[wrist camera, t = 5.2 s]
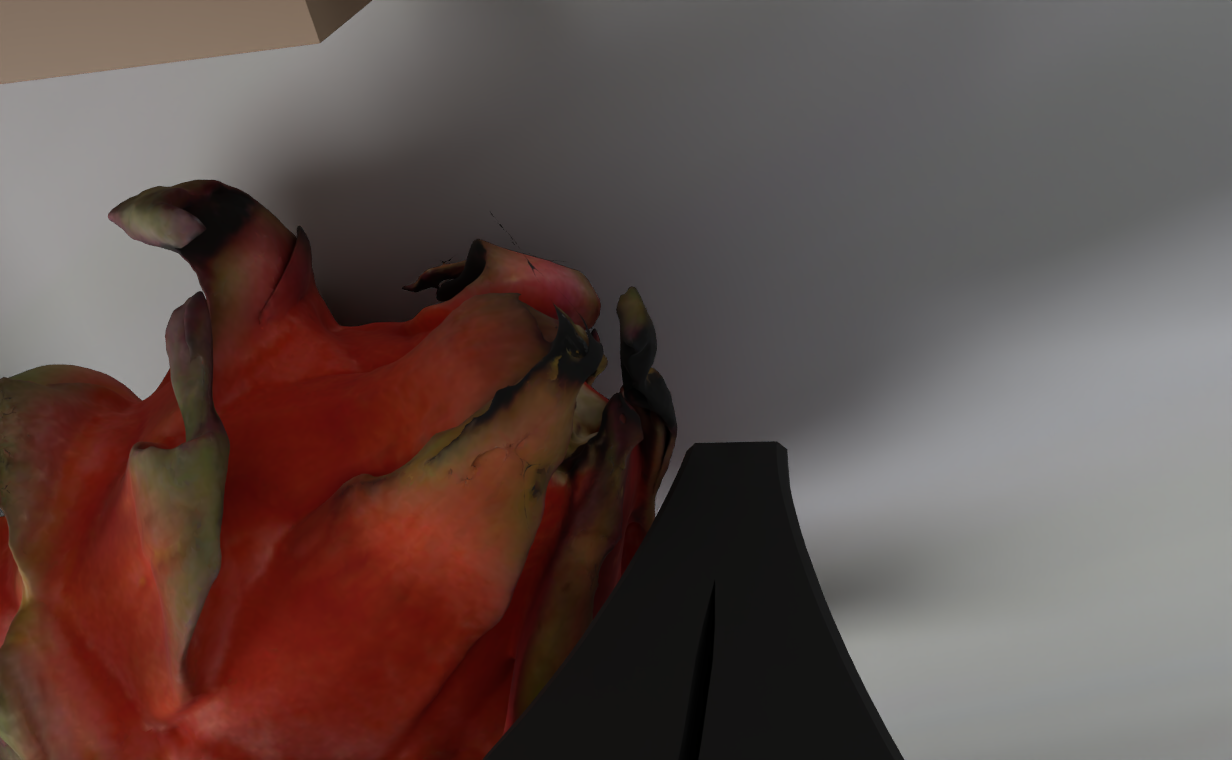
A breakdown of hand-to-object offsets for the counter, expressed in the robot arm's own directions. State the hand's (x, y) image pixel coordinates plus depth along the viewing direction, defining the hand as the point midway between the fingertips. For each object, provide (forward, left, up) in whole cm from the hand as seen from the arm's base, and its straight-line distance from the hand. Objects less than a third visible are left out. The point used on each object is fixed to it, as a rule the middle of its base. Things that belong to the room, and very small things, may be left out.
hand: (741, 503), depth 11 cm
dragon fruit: (0, +6, -3) cm, 6 cm away
